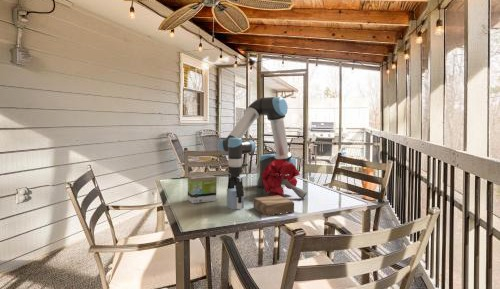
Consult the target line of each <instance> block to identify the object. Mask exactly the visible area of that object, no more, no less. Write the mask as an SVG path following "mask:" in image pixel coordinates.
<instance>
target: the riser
mask: <svg viewBox="0 0 500 289" xmlns="http://www.w3.org/2000/svg"><path fill="white" fill-rule="evenodd" d="M253 209H254V210H256V211H258V213H260V214H262V213H263V214H262V215H264V216H265V215H266V216H265V217H269V216H268V215H272V216H274V215H273V214H279V215H281V214H280V213H286V212H293V211H294V212H295V202H294V201H292V200H290V199H288V198H286V197H284V196H283V197H282V196H280V195H276V196H274V195H269V196H260V197H253ZM294 212H293V213H294ZM286 214H287V213H286Z"/></svg>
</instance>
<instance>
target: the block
mask: <svg viewBox="0 0 500 289" xmlns="http://www.w3.org/2000/svg"><path fill="white" fill-rule="evenodd" d="M243 193H245V190H244V189H243ZM236 196H237V192H236V187H234V188H231V189H228V188H226V206H227V208H228V209H230V210H232V211H233V210H238V209H237V197H236ZM244 202H245V195H244V196H242V208H241V209H244V207H245V206H244V205H245V203H244Z"/></svg>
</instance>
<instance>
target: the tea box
mask: <svg viewBox="0 0 500 289" xmlns="http://www.w3.org/2000/svg"><path fill="white" fill-rule="evenodd" d="M187 200H188V201H189V202H190V203H191V204H197V203H207V202H216V201H217V176H214V175H213V174H201V175H199V174H198V175H188V176H187Z"/></svg>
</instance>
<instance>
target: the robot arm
mask: <svg viewBox="0 0 500 289" xmlns="http://www.w3.org/2000/svg"><path fill="white" fill-rule="evenodd" d="M287 113H288V103H287V101H286V99H285V98H284V97H280V96H270V97H269V96H268V97H260V98H258V99H255V100H254V101H253V102H252V103H250V104H249V106H248V107H247V108H246V109H245V113H244V114H243V116H242V117H241V118H240V119H239V121H238V122H237V123H236V125H235V126H234V127H233V129H232V130H231V131H230V132H229V134H228V135H227V136H226V138H223V139H222V138H221V139H220V140H219V141H218V143H217V147H218V150H219V151H220V152H222V153H227V156H228V157H227V159H228V160H227V163H228V167H227V169H228V170H227V171H228V172H227V173H228V181H227V189H231V188H236V192H237V196H236V197H237V209H236V210H239V209H243V208H242V196H244V197H245V194H244V193H245V192H244V193H243V190H244V186H243V177H241V176H240V174H242V173H243V155H245V154H251V153H253V152H254V151H255V150H256V143H255V142H254V141H253V140H252V139H247V140H246V139H243V137H244V136H245V134H246V133H247V131H248V130H249V129H250V127H251V126H252V125H253V123H254V121H255V120H258V119H259V118H260V117H261V116H266V118H267V121H269V123H270V126H271V133H272V138H273V143H274V150H275V153H269V154H267V153H266V154H261V155H260V156H259V159H258V160H259V162H258V163H259V164H258V165H259V166H258V167H259V175H258V179H257V182H256V187H257V188H261V189H265V188H264V186H265V185H264V184H263V182H262V178H263V176H261V175H262V172H263V171H264V169H265V167H267V166H268V165H269V164H270V163H271V162H272V161H274V160H283V161H287V162H288V163H293V165H294V166H295V167H296V166H297V159H296V158H295V157H292V156H293V155H292V152H290V151H289V147H288V146H289V145H288V141H287V140H288V138H287V134H286V128H285V127H286V126H285V122H284V119H285V118H286V114H287ZM296 168H297V167H296Z"/></svg>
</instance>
